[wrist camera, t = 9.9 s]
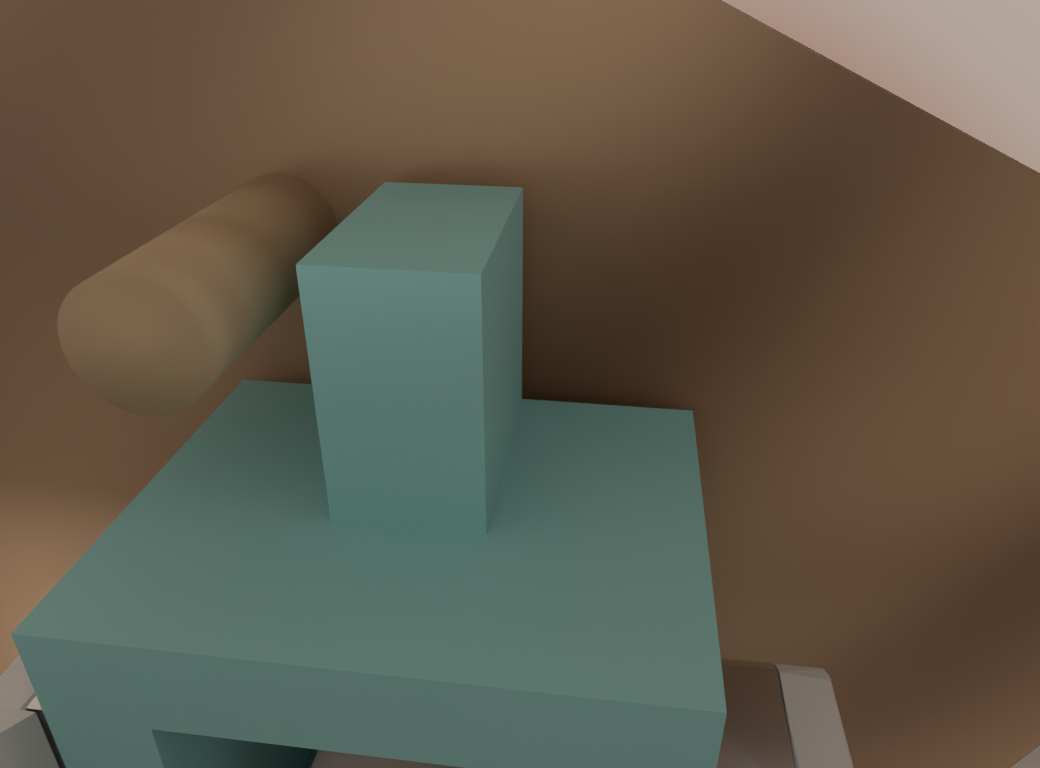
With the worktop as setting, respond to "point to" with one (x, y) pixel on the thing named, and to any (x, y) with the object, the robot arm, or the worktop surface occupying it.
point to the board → (562, 299)
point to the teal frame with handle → (399, 545)
